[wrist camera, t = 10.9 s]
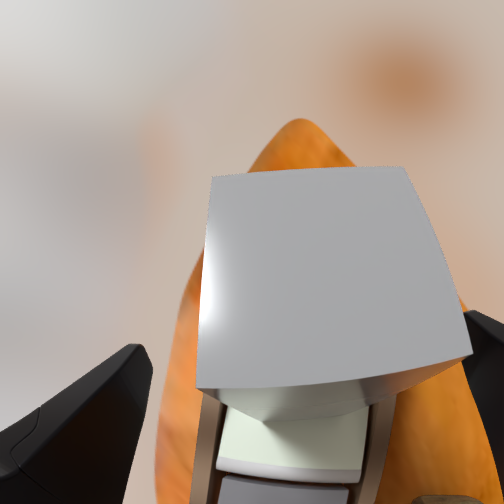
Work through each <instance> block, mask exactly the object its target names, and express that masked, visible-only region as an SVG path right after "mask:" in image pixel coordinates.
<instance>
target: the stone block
mask: <svg viewBox="0 0 504 504" xmlns="http://www.w3.org/2000/svg"><path fill="white" fill-rule="evenodd" d="M412 504H483V503H482V502H480V501H479V500H477V499H475V498H472V497H469V496H461V495H425V496H420V497H418V498H416V499H414V500H413V502H412Z"/></svg>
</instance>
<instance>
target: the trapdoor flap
mask: <svg viewBox="0 0 504 504" xmlns="http://www.w3.org/2000/svg"><path fill="white" fill-rule="evenodd" d="M368 409H369V406H367V407H364V408H362V409H359V410H357V411H354V412H351V413H349V414H346V415H341V416H334V417H325V418H316V419H306V420H293V421H277V422H260V421H258V420H256V419H254V418H252V417H250V416H248V415H246V414H244V413H242V412H240V411H238V410H236V409H234V408H232V407H230V406H228V408H227V413H226V418H225V423H224V428H223V434H222V439H221V444H220V449H219V454H218V458H217V462H216V469H217V470H222V471H227V472H232V473H230V474H228V475H227V476H225V477H224V478H223V480H222V485H221V490H220V495H219V500H218V504H346V503H347V498H348V493H349V490H348V489H347V488H345V487H344V486H343V485H342V484H341V483H358V482H359V480H360V476H361V467H362V461H363V454H364V446H365V438H366V430H367V420H368Z"/></svg>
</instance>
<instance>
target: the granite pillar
mask: <svg viewBox="0 0 504 504" xmlns="http://www.w3.org/2000/svg"><path fill="white" fill-rule="evenodd" d="M472 354H473V351H472V346H471V342H470V338H469V334H468V330H467V326H466V322H465V318H464V315H463V311H462V308H461V304H460V301H459V298H458V295H457V292H456V288H455V285H454V282H453V279H452V277H451V274H450V271H449V268H448V265H447V263H446V260H445V257H444V254H443V252H442V250H441V247H440V244H439V242H438V239H437V237H436V234H435V232H434V230H433V227H432V225H431V223H430V220H429V218H428V216H427V214H426V212H425V209H424V207H423V205H422V203H421V201H420V199H419V197H418V195H417V193H416V191H415V189H414V187H413V184H412V183H411V181H410V179H409V177H408V175H407V173H406V171H405V169H404V168H403V167H336V168H313V169H296V170H281V171H268V172H256V173H245V174H235V175H225V176H216V177H212V183H211V191H210V200H209V209H208V219H207V230H206V240H205V250H204V262H203V274H202V286H201V300H200V315H199V331H198V349H197V370H196V388H197V389H198V390H200V391H202V392H204V393H205V394H207V395H209V396H211V397H213V398H215V399H216V400H218V401H220V402H222V403H224V404H226V405H228V406H230V407H232V408H234V409H236V410H238V411H240V412H242V413H244V414H246V415H248V416H250V417H252V418H254V419H256V420H258V421H260V422H277V421H293V420H306V419H316V418H325V417H334V416H341V415H346V414H349V413H351V412H354V411H357V410H359V409H362V408H364V407H367V406H370V405H372V404H375V403H377V402H379V401H382V400H384V399H386V398H389V397H391V396H393V395H396V394H398V393H400V392H402V391H404V390H407V389H409V388H411V387H413V386H415V385H417V384H419V383H421V382H423V381H425V380H427V379H429V378H431V377H433V376H435V375H437V374H438V373H440V372H442V371H444V370H446V369H448V368H449V367H451V366H453V365H455V364H457V363H458V362H460V361H462V360H463V359H465V358H467V357H468V356H470V355H472Z"/></svg>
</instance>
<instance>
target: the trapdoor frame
mask: <svg viewBox="0 0 504 504" xmlns="http://www.w3.org/2000/svg"><path fill="white" fill-rule="evenodd" d="M396 396H397V394H396V395H393V396H391V397H389V398H386V399H384V400H382V401H379V402H377V403H375V404H372V405H370V406H369V409H368V420H367V430H366V438H365V446H364V454H363V461H362V467H361V476H360V480H359V482H358V483H344V487H345V488H347V489H348V490H349V493H348V498H347V503H346V504H374V502H375V499H376V495H377V492H378V488H379V484H380V480H381V476H382V472H383V468H384V464H385V459H386V455H387V450H388V445H389V440H390V435H391V429H392V423H393V417H394V410H395V403H396ZM227 408H228V405H226V404H224V403H222V402H220V401H218V400H216V399H215V398H213V397H211V396H209V395H207V394H205V393H204V392H203V399H202V406H201V413H200V421H199V428H198V436H197V444H196V452H195V460H194V468H193V476H192V485H191V493H190V502H189V504H218V500H219V495H220V490H221V485H222V480H223V478H224V477H225V475H226V471H222V470H217V469H216V462H217V458H218V454H219V449H220V444H221V439H222V434H223V428H224V423H225V418H226V413H227Z"/></svg>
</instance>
